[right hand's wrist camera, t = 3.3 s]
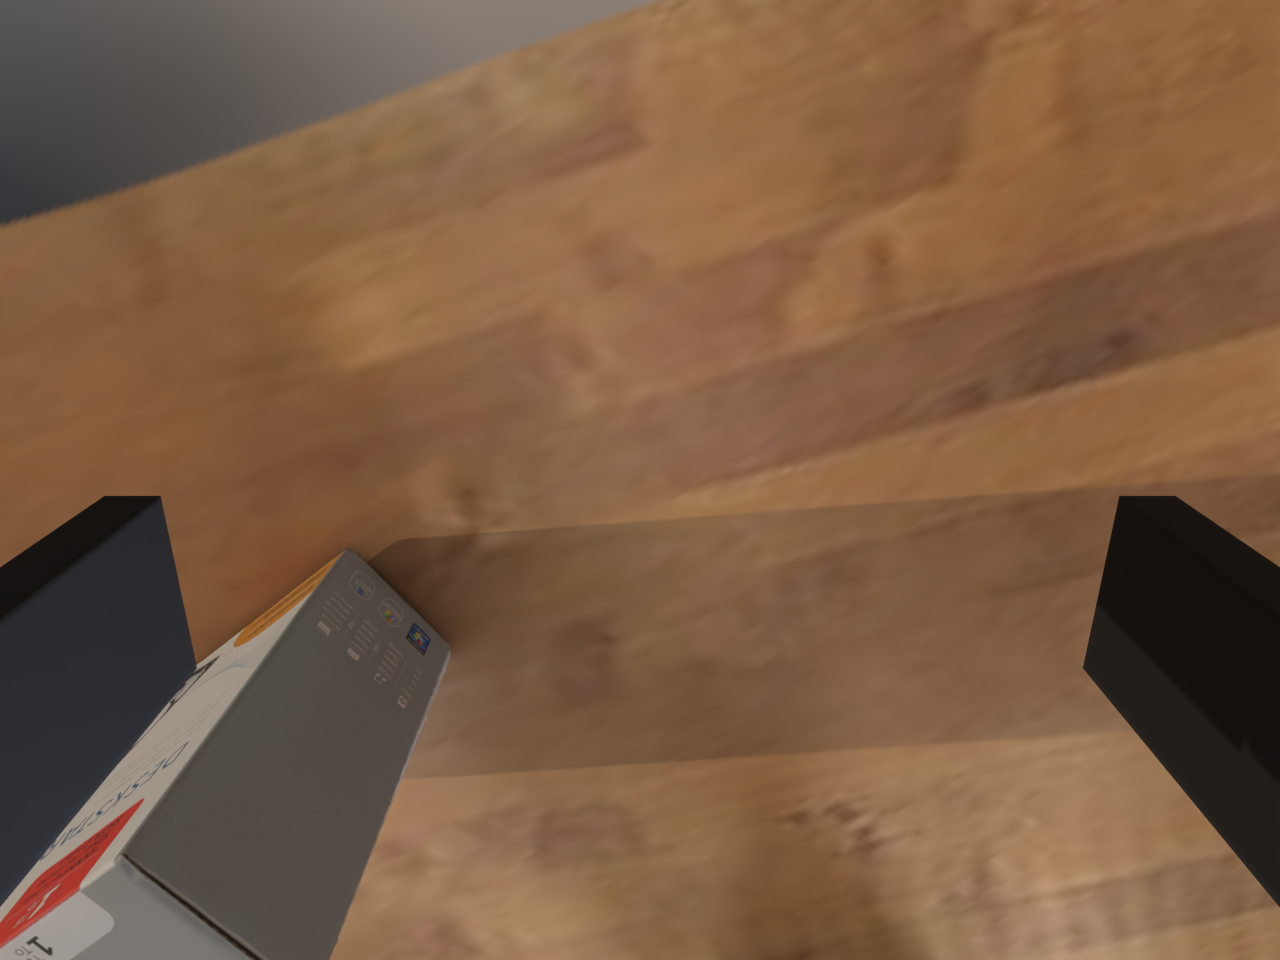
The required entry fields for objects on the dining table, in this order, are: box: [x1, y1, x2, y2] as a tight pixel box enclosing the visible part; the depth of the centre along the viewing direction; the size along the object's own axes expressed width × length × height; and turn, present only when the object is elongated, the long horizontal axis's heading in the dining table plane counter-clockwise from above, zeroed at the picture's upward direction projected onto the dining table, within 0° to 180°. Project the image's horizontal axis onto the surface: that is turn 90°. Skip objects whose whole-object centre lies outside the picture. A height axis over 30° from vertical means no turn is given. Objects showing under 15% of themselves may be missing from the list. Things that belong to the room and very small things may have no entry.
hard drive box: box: [0, 549, 451, 960], centre depth 36 cm, size 16×8×20 cm, turn 128°
